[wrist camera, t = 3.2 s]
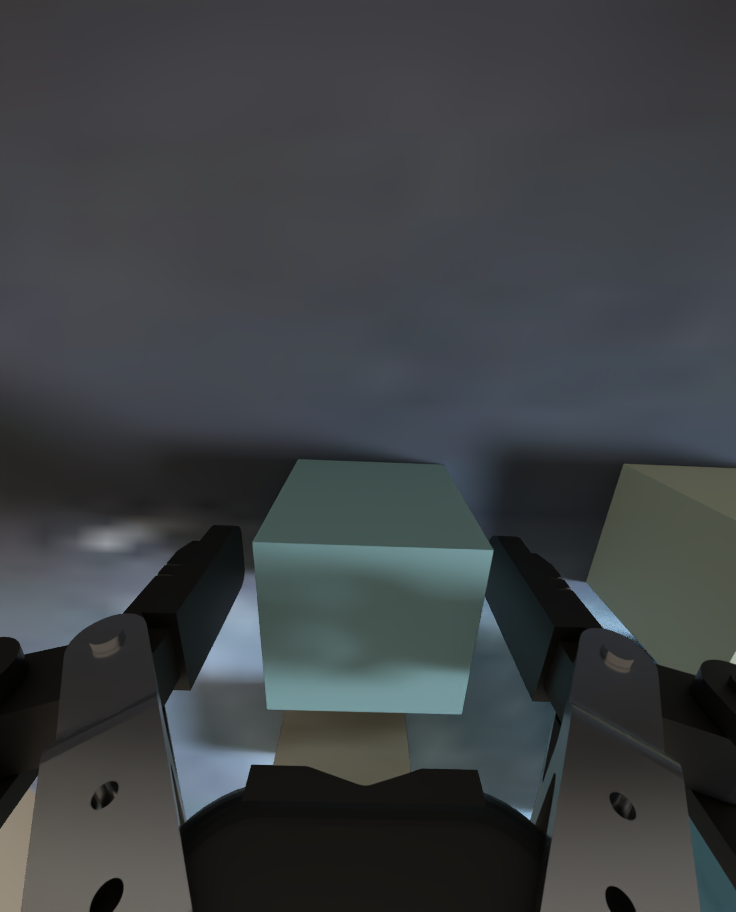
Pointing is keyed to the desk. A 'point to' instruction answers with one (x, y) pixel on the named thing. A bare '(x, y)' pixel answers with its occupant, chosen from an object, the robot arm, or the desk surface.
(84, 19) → the desk surface
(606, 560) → the sage block
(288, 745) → the maple block
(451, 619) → the teal block
